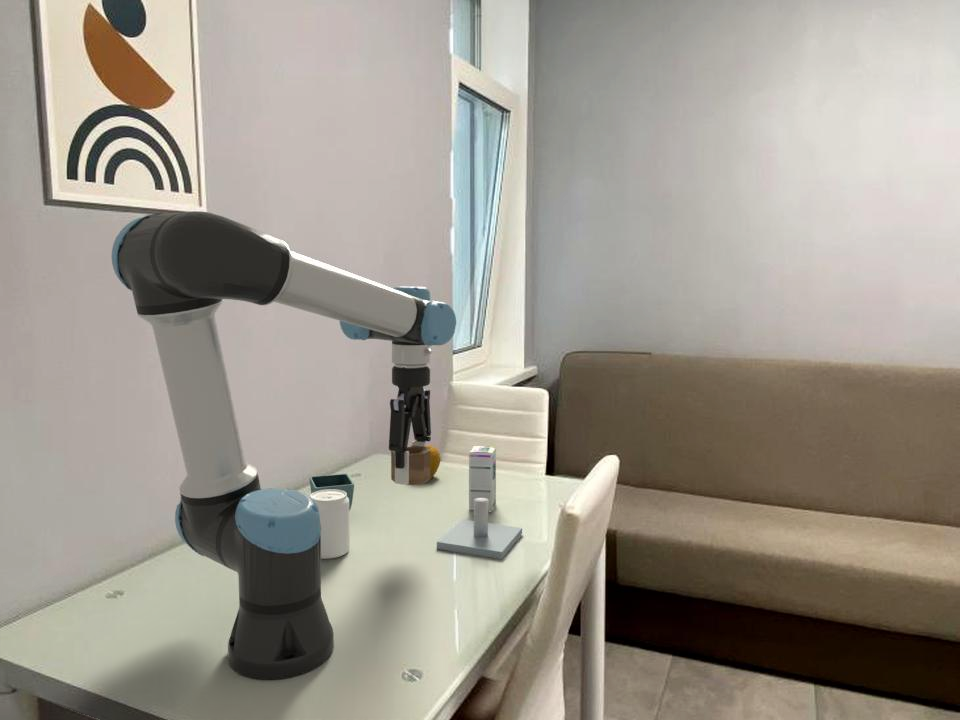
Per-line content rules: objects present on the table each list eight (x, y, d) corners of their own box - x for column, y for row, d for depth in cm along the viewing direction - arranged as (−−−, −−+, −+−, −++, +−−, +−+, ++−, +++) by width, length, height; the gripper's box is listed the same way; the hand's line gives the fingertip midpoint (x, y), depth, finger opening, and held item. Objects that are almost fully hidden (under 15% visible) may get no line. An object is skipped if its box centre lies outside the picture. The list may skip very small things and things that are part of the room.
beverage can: (340, 562, 137) (339, 502, 135) (301, 558, 139) (300, 499, 137) (355, 546, 145) (355, 490, 143) (318, 543, 146) (318, 487, 145)
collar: (419, 486, 138) (419, 456, 137) (386, 482, 140) (386, 452, 139) (434, 476, 144) (434, 447, 144) (402, 472, 147) (402, 444, 146)
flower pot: (355, 522, 159) (354, 483, 157) (315, 527, 155) (314, 487, 154) (347, 509, 167) (347, 472, 166) (309, 514, 163) (308, 476, 162)
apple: (428, 470, 199) (428, 440, 198) (446, 478, 193) (447, 446, 192) (403, 476, 194) (403, 444, 193) (421, 483, 187) (421, 451, 186)
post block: (501, 559, 140) (502, 515, 138) (436, 548, 144) (436, 506, 143) (522, 534, 153) (522, 494, 152) (461, 525, 157) (462, 486, 156)
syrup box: (492, 512, 166) (493, 452, 164) (467, 510, 167) (468, 451, 165) (495, 504, 172) (497, 446, 170) (471, 503, 173) (472, 445, 171)
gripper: (405, 373, 129) (405, 494, 132) (448, 360, 147) (447, 467, 150) (369, 370, 131) (369, 490, 134) (415, 358, 150) (414, 463, 153)
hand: (410, 477), depth 142 cm, fingers closed on collar, 7 cm apart
